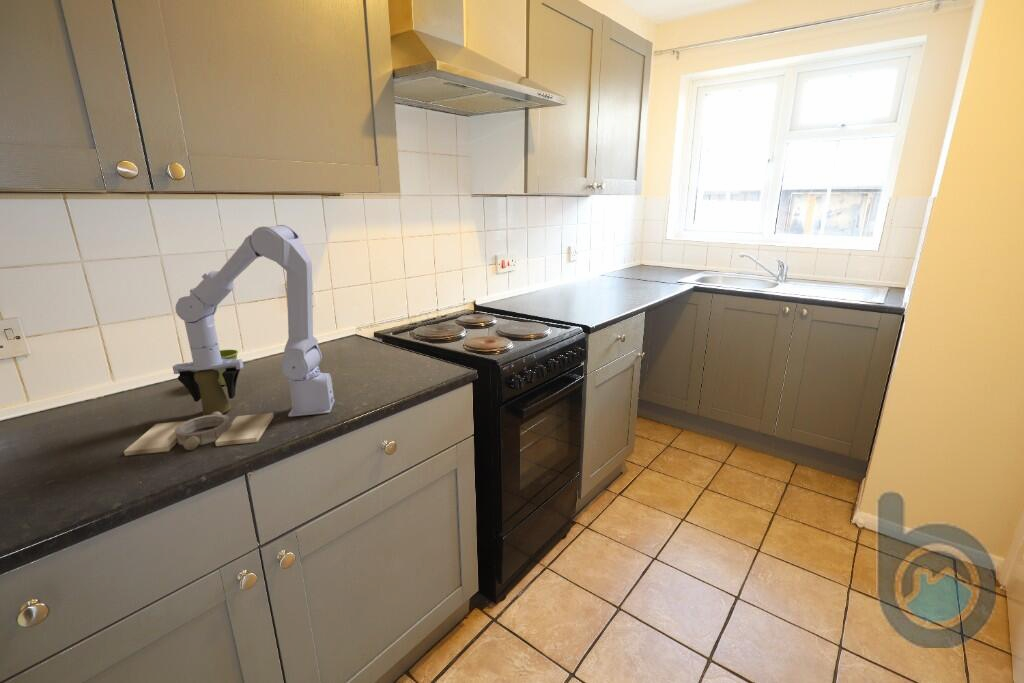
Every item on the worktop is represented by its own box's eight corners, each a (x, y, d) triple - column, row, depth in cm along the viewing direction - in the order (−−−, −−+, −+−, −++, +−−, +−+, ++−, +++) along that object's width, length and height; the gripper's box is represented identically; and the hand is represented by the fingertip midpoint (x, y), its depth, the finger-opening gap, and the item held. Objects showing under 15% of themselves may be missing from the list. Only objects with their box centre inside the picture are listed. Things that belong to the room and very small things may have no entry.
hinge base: (274, 415, 115) (273, 405, 114) (256, 443, 101) (254, 432, 101) (158, 426, 110) (156, 416, 110) (122, 457, 97) (119, 446, 96)
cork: (204, 418, 114) (190, 376, 110) (202, 411, 118) (189, 369, 115) (232, 410, 117) (220, 368, 113) (230, 403, 122) (218, 362, 118)
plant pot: (204, 382, 138) (197, 353, 136) (240, 374, 144) (235, 347, 141) (207, 391, 131) (201, 361, 129) (245, 383, 136) (240, 354, 134)
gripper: (243, 338, 118) (252, 389, 122) (178, 342, 115) (189, 395, 119) (233, 346, 111) (243, 400, 115) (163, 351, 109) (176, 406, 113)
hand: (215, 398), depth 117 cm, fingers open, 7 cm apart
